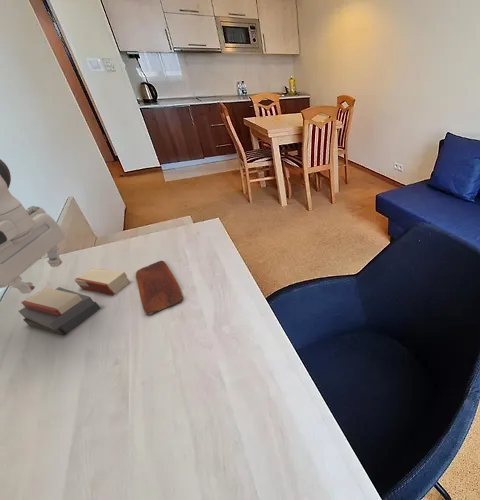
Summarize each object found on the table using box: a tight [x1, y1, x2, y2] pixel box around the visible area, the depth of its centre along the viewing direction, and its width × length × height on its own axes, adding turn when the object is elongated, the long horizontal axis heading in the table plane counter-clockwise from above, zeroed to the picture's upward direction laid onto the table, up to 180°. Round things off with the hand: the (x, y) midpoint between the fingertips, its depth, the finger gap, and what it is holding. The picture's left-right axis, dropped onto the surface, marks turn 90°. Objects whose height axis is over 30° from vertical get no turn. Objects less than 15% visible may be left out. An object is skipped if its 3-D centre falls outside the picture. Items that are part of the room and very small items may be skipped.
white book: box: [20, 287, 82, 316], centre depth 80 cm, size 13×6×2 cm, turn 73°
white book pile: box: [74, 267, 131, 297], centre depth 93 cm, size 13×7×4 cm, turn 73°
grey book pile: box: [17, 286, 101, 337], centre depth 82 cm, size 15×11×5 cm
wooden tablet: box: [135, 260, 184, 316], centre depth 92 cm, size 27×10×2 cm, turn 37°
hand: (44, 277), depth 69 cm, fingers open, 8 cm apart
